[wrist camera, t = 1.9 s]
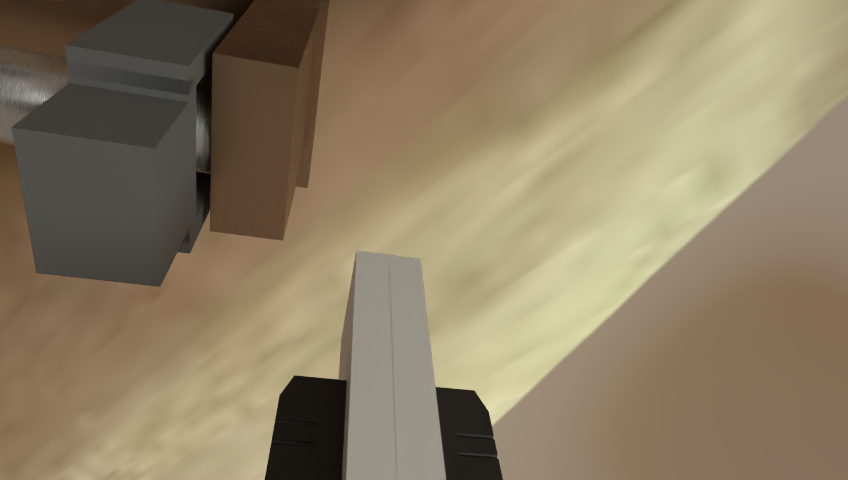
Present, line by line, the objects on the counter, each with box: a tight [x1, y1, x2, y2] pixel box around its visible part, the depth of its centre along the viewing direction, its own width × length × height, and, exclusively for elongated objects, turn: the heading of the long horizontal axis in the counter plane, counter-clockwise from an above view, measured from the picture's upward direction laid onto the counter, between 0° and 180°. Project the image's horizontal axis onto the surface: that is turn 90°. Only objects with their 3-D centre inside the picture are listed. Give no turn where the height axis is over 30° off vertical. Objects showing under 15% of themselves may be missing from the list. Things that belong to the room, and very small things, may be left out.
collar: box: [11, 0, 234, 287], centre depth 18 cm, size 6×3×9 cm, turn 168°
